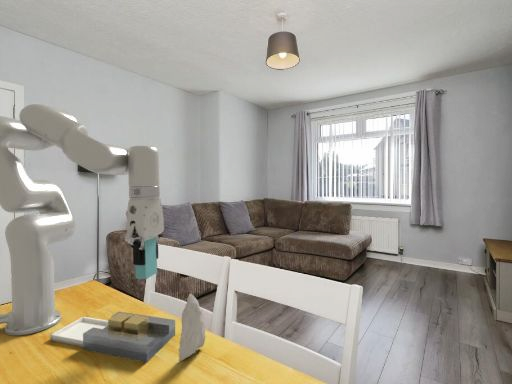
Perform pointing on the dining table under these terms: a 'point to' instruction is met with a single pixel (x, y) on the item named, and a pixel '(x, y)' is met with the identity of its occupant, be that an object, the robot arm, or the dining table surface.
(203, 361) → the dining table surface
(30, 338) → the dining table surface
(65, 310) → the dining table surface
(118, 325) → the chip
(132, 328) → the gold cube
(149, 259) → the teal rectangular block
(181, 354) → the stone tool
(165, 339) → the slot board
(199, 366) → the dining table surface
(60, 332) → the tray
